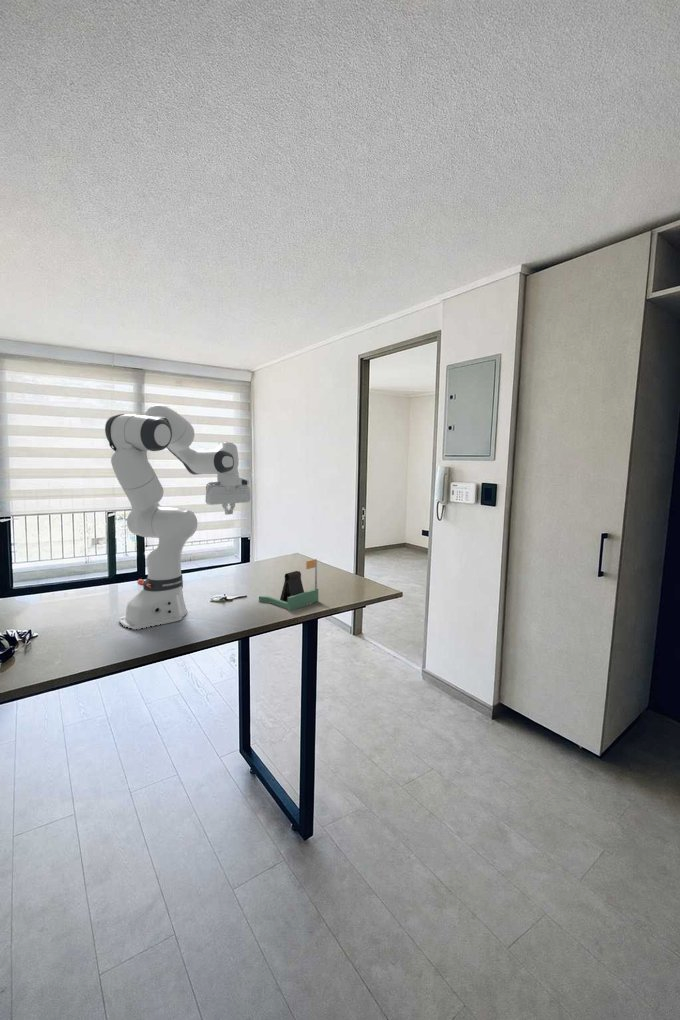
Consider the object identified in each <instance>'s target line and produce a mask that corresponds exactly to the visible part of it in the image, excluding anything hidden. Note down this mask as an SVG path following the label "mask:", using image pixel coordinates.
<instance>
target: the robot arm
mask: <svg viewBox="0 0 680 1020" xmlns="http://www.w3.org/2000/svg"><path fill="white" fill-rule="evenodd" d="M104 431H105V432H104V433H105V437H106V439H107V441H108V445H109V447H110V448H111V449H112V450H113V451H114V453H113V454H112V456H111V458H110V463H111V466H112V469H113V472H114V475H115V477H116V479H117V481H118V483H119V485H120V487H121V489H122V491H123V492H124V493H125V495H126V496H127V499H128V501H129V503H130V505H131V511H130V512H129V513H128V515H127V519H126V525H127V528H128V530H129V532H130V533H132V534H133V535H137V536H139V537H143V538H153V539H158V545H157V547H156V548H155V549H153V550H152V551H150V553H149V554H148V555H147V557H146V559H147V560H146V563H147V567H146V568H147V577H146V579H145V580H144V579H142V578H139V579H138V580H137V585H139V586H142V590H140V591H139V593H137V594H136V595H135V596H134V597H133V598H132V599H130V601H128V602H127V605H126V609H125V615H122V616H120V617H119V618H118V623H119V622H120V623H121V624H122V625H123V626H122V625H121V624H120V623H119V624H120V625H121V626H122V627H124V626H125V627H124V628H126V627H128V628H127V629H129V628H133V629H132V630H136V629H137V630H141V628H143V629H146V627H147V628H150V626H152V627H156V626H155V625H157V626H161V625H165V624H171V623H174V622H179V621H182V620H183V617H184V616H186V615H187V614H188V609H187V607H186V603H185V602H186V601H185V598H184V594H183V593H184V591H183V588H184V581H183V580H184V579H183V573H182V553H183V550H184V547H185V544H186V542H187V541H188V540H189V539H190V538H191V537H192V536H194V534H195V533H196V531H197V530H198V519H197V518H198V517H197V516H196V514H195V512H194V511H192V510H189V509H186V508H181V507H168V506H165V507H164V506H162V505H160V501H162V499H163V496H164V491H165V490H164V487H163V485H162V484H161V482H160V480H159V478H158V476H157V474H156V471H155V470H154V468H153V466H152V465H151V463H150V462H149V459H148V455H147V454H148V453H147V451H150V452H159V451H163V450H165V449H167V451H169V452H170V454H172V455H173V456H174V457H175V458H176V459H177V460H178V461H180V462H181V463H182V465H183V466H184V467H185V469H186V470H187V472H189V474H191V475H216V474H217V476H216V479H217V481H210V482H208V483H207V484H206V486H205V491H206V492H205V500H204V501H205V503H206V505H209V506H214V505H222V509H223V510H224V515H233V514H234V509H235V507H236V504H243V503H245V504H246V503H250V501H251V489H250V487H249V485H250V481H249V480H247V479H245V478H242V477H240V474H239V469H238V468H239V463H240V462H239V451H238V447H237V444H235V443H233V442H228V441H221V442H218V444H217V446H216V447H215V448H213V449H192V448H190V446H191V445H192V443H193V442H194V441H195V440H194V438H195V429H194V427H193V425H192V424H191V423H190V422H189V421H188V420H187V419H186V418H185V417H184V416H183V415H181V414H179V413H178V412H177V411H175V410H173V409H172V408H170V407H168V406H166V405H164V404H153V405H151V406H150V407H149V408H148V409H147V410H146V412H145V413H144V415H141V414H135V413H134V414H131V413H130V414H124V413H120V414H115V415H113V416H111V417H109V418H107V420H106V423H105V425H104ZM228 507H229V508H228ZM160 624H161V625H160Z"/></svg>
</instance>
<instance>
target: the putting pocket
mask: <svg viewBox="0 0 680 1020" xmlns="http://www.w3.org/2000/svg"><path fill="white" fill-rule="evenodd" d="M305 565H306V568H305V569H306V570H309V569H313V568H314V589H310V590H307V591H304V592H303V593H300V594H297V595H293V596H290V597H287V600H288V602H285V601H282V600H280V599H278V598H275V597H272V596H266V595H259V596H258V602H259V603H269V604H272V605H275V606H277V607H280V608H284V609H286V610H287V611H288V610H289V612H291V610H292V611H295V610H298V609H299V608H303V607H306V606H308V605H307V604H309V605H311V604H310V603H312V604H314V603H313V602H315V603H317V602H316V601H318V602H319V588H318V559H317V558H315V559H311V560H307V561H306V564H305ZM305 605H306V606H305ZM294 609H295V610H294Z"/></svg>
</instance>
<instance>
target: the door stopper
mask: <svg viewBox="0 0 680 1020" xmlns="http://www.w3.org/2000/svg"><path fill="white" fill-rule="evenodd" d="M303 592H305V590H304V587H303V582H302V573H301V571H298V570H295V571H291V572H286V573H285V574H284V582H283V587H282V590H281V595H280V599H279V600H282V601H285V602H288V600H287V597H290V596H293V595H297V594H300V593H303Z"/></svg>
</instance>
